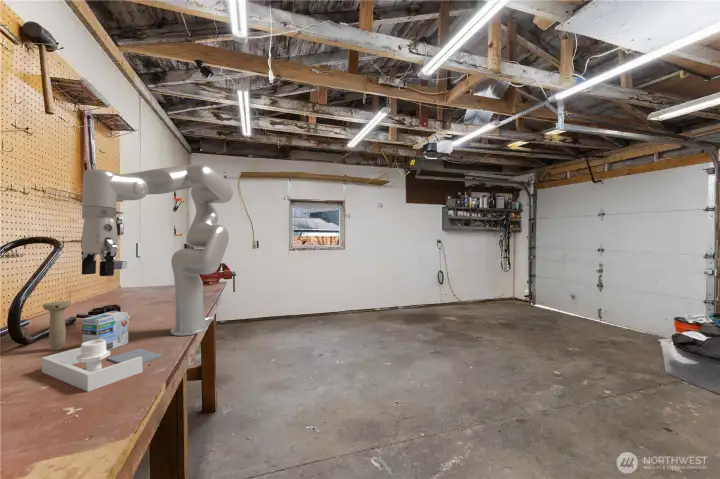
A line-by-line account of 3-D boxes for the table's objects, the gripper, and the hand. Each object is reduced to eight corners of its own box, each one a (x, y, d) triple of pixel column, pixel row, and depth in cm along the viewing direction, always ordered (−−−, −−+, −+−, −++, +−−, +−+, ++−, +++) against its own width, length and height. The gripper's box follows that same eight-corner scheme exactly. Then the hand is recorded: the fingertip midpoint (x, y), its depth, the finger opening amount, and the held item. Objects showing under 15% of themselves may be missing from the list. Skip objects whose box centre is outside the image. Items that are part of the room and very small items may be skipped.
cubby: (95, 356, 99) (95, 343, 99) (142, 371, 88) (142, 357, 88) (41, 372, 88) (41, 357, 88) (87, 391, 77) (87, 375, 77)
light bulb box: (98, 354, 101) (98, 319, 101) (81, 352, 102) (80, 318, 102) (129, 343, 111) (129, 311, 111) (113, 341, 113) (112, 310, 112)
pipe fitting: (109, 372, 88) (108, 343, 87) (74, 379, 84) (73, 348, 84) (111, 364, 93) (111, 336, 93) (79, 370, 89) (78, 341, 89)
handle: (70, 349, 105) (70, 303, 105) (43, 353, 101) (42, 305, 101) (71, 345, 109) (70, 300, 109) (44, 349, 105) (43, 303, 104)
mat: (139, 349, 104) (139, 348, 104) (162, 356, 99) (162, 354, 99) (107, 359, 96) (107, 358, 96) (130, 367, 91) (130, 365, 91)
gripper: (131, 214, 91) (129, 275, 91) (99, 216, 99) (97, 272, 99) (99, 211, 84) (97, 277, 84) (68, 214, 92) (66, 274, 92)
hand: (97, 275), depth 91 cm, fingers open, 9 cm apart
